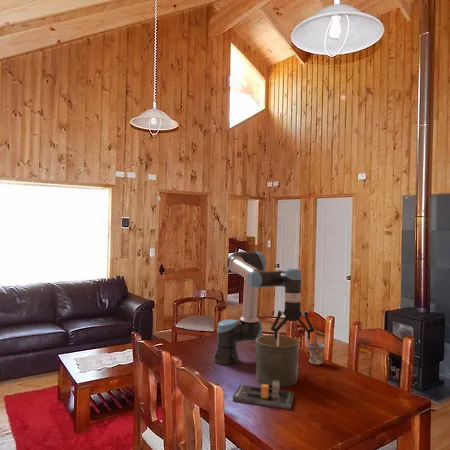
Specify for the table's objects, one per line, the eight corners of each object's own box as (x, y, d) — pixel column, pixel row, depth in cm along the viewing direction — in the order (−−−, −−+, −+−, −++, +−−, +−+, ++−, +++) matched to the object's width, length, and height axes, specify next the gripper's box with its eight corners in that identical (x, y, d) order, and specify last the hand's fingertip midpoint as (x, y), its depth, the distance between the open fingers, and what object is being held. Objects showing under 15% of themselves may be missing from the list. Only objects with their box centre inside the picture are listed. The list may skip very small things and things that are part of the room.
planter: (302, 376, 211) (303, 338, 211) (291, 391, 191) (292, 349, 191) (263, 368, 221) (264, 332, 221) (249, 382, 200) (249, 342, 201)
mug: (318, 359, 238) (319, 342, 238) (327, 365, 229) (327, 346, 230) (301, 361, 234) (301, 343, 235) (309, 366, 226) (309, 348, 226)
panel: (232, 400, 179) (233, 385, 179) (239, 388, 192) (240, 374, 192) (290, 409, 172) (290, 393, 172) (293, 396, 185) (293, 381, 185)
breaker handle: (260, 397, 177) (261, 386, 177) (262, 395, 180) (262, 384, 180) (267, 398, 176) (267, 387, 176) (268, 395, 179) (268, 384, 179)
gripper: (267, 302, 185) (266, 347, 184) (320, 303, 184) (320, 348, 184) (265, 299, 192) (265, 343, 192) (317, 300, 192) (316, 344, 191)
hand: (292, 345), depth 188 cm, fingers open, 13 cm apart
